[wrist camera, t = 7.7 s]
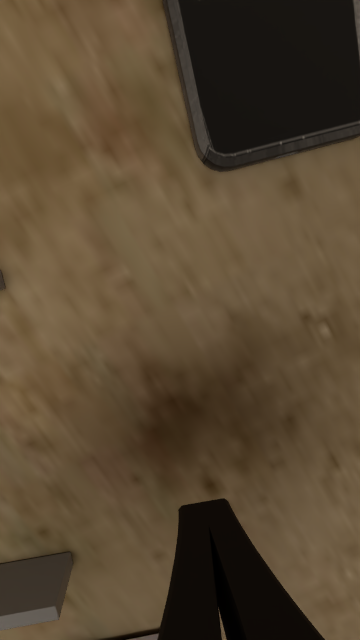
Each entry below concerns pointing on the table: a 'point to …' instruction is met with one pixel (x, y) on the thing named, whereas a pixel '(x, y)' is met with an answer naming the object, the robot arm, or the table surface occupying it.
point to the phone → (266, 76)
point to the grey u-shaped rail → (33, 585)
